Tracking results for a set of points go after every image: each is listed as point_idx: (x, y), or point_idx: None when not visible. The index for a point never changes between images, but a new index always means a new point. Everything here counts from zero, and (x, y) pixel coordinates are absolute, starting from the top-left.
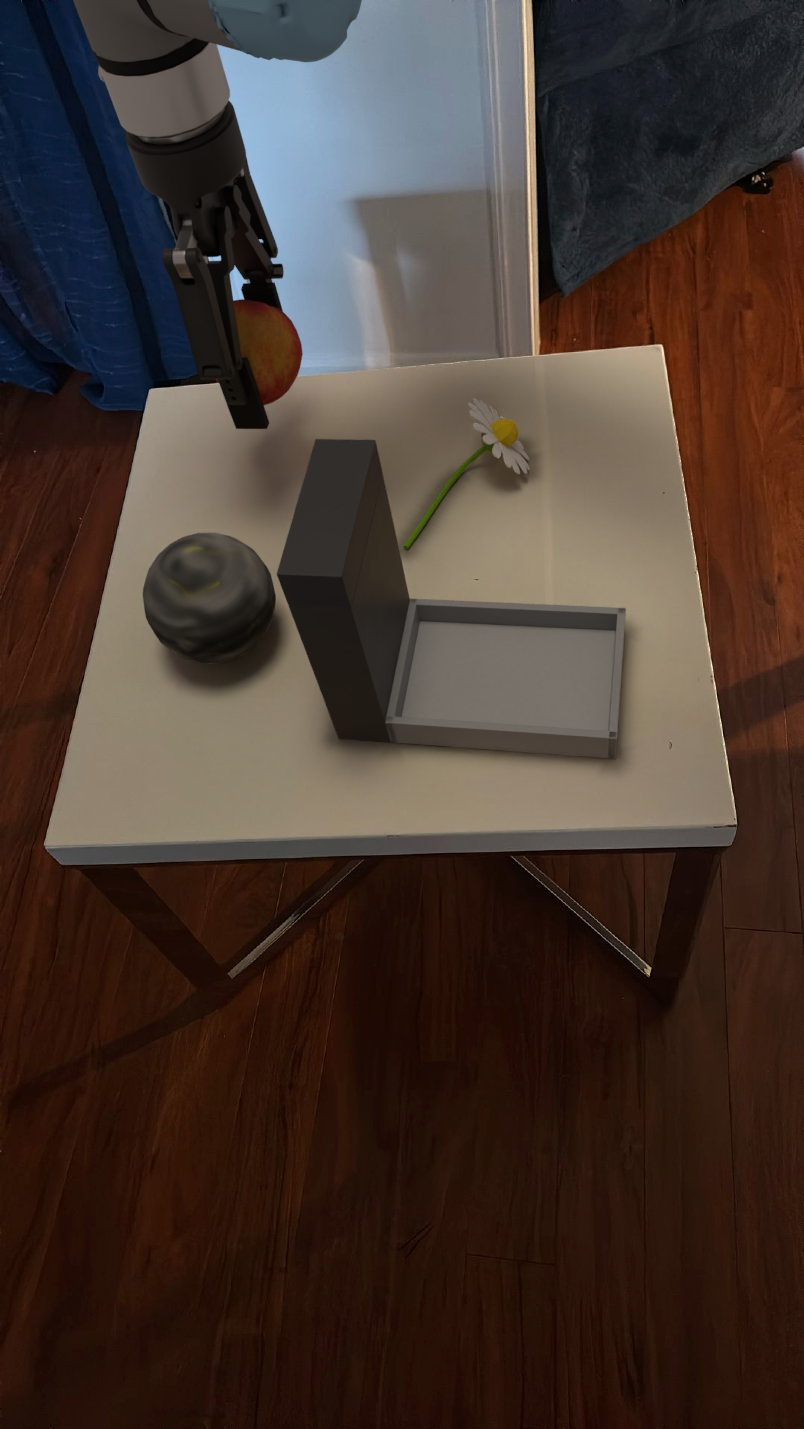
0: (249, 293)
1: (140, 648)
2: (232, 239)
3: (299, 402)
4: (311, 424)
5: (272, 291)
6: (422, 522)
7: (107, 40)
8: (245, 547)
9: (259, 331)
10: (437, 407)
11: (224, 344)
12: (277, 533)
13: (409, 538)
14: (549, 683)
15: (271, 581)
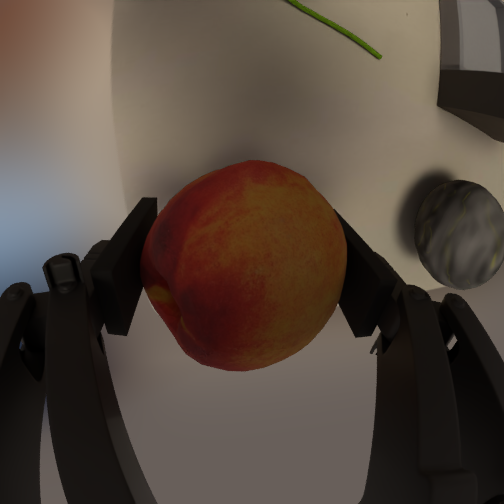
0: (125, 315)
1: (419, 271)
2: (140, 486)
3: (145, 187)
4: (181, 165)
5: (115, 268)
6: (356, 36)
7: None
8: (478, 213)
9: (310, 274)
10: (164, 23)
11: (481, 341)
12: (345, 181)
13: (373, 52)
14: (476, 12)
15: (470, 185)
